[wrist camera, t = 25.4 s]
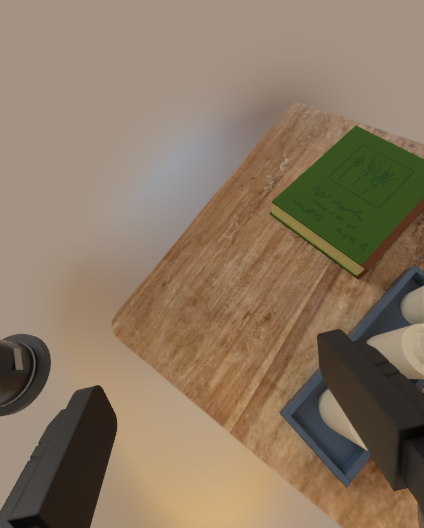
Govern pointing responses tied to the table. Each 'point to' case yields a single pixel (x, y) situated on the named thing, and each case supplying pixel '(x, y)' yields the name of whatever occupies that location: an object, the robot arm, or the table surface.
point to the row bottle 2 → (413, 306)
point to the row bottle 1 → (403, 349)
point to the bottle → (337, 417)
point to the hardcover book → (355, 200)
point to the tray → (306, 399)
